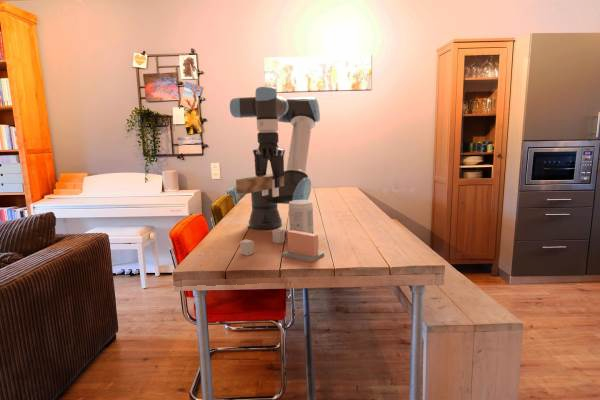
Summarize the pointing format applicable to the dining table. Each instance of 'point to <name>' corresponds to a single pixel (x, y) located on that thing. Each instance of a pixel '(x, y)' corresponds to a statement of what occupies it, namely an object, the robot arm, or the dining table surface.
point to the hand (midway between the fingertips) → (270, 195)
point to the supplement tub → (301, 216)
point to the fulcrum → (302, 246)
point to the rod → (256, 184)
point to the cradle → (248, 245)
